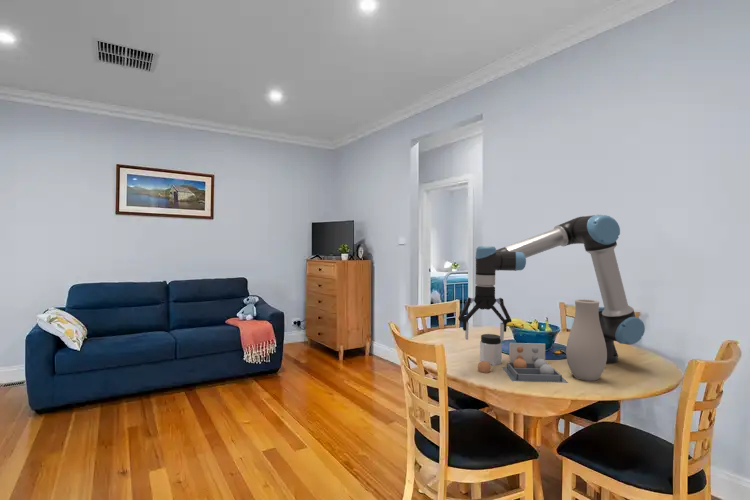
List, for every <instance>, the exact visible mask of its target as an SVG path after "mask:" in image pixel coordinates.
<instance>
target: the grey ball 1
mask: <svg viewBox="0 0 750 500" xmlns="http://www.w3.org/2000/svg"><path fill="white" fill-rule="evenodd" d="M544 364H548V362H547V361H546V359H545V360H543V359H537V360H536V361H535V363H534V367H535V369H540V368H541V366H542V365H544Z"/></svg>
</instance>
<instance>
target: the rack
mask: <svg viewBox="0 0 750 500" xmlns="http://www.w3.org/2000/svg"><path fill="white" fill-rule="evenodd" d="M508 344H509V345H508V346H509V351H508V352H509V353H508V354H509V355H508V359H509V360H508V362H506V366H501V368H502V370H503V371H504V373H505V374H506V376H508V378H509V379H510V381H512V382H524V383H525V382H527V383H528V382H529V383H560V384H561V383H562V384H565V383H566V384H567V383H568V384H569V381H568V380H566V379H565V378H564V377H563V375H562V374H561V373H560V372H558V371H557V370H556V369H555V368H554V367H553V369H554V375H542V374H541V373H540V369H535V367H534V363H535V361H536V360H537V359H543V360H545V361H546V343H539V342H538V343H536V342H535V343H534V342H527V343H525V342H509V343H508ZM518 358H521V359H523V360H525V362H526V364H527V367H526V368H514V366H513V363H514V361H515V360H516V359H518ZM547 364H548V365H550V364H549V363H547Z"/></svg>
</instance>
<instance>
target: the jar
mask: <svg viewBox="0 0 750 500" xmlns="http://www.w3.org/2000/svg"><path fill="white" fill-rule="evenodd" d="M479 341H480V342H479V362H481V361H487V362H489V364H490V365H491V366H497V365H500V364H502V358H503V357H502V355H503V353H502V352H503V350H502V347H503V344H502V343H501V342H502V340H501V339H500V334H499V335H498V334H494V333H493V334H492V333H484V334H481V335H480V340H479Z"/></svg>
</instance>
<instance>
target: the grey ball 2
mask: <svg viewBox="0 0 750 500" xmlns="http://www.w3.org/2000/svg"><path fill="white" fill-rule="evenodd" d="M548 364H549V363H547V364H544V365H542V366H541V368H540V373H541V374H542V375H554V369H555V368H554V367H553V366H552V365H550V364H549V365H548ZM553 368H554V369H553Z"/></svg>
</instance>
